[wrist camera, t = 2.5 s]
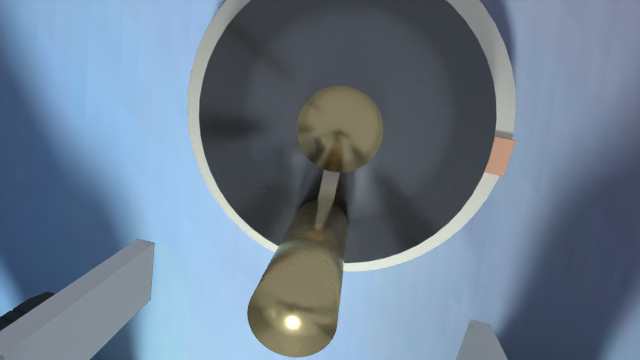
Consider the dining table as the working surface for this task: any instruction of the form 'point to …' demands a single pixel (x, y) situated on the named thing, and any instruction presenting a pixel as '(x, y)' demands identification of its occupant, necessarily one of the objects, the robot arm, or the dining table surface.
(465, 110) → the handwheel
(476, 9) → the wheel base
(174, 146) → the dining table surface
